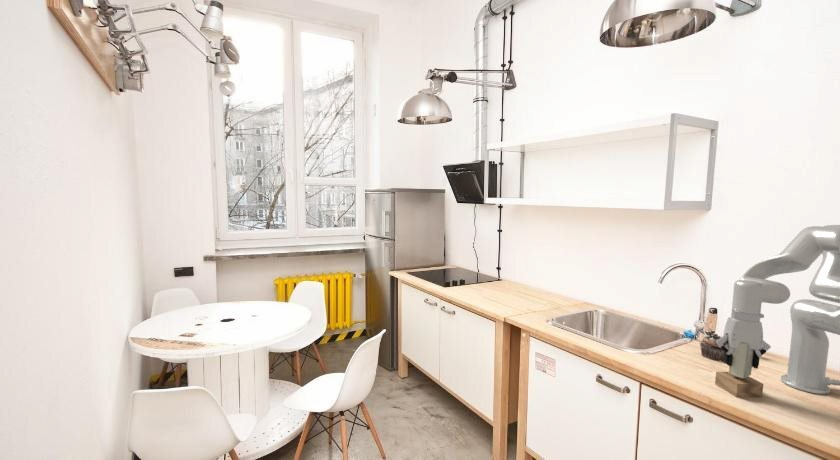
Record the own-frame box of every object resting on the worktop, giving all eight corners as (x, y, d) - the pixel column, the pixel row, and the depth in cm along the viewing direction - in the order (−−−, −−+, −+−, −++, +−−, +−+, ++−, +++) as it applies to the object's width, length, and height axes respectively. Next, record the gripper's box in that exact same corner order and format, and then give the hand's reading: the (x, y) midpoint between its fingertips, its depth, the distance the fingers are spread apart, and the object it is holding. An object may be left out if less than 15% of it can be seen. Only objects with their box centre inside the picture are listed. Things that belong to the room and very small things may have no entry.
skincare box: (736, 370, 136) (739, 337, 135) (751, 375, 132) (755, 341, 131) (727, 373, 133) (731, 340, 132) (743, 379, 129) (746, 344, 128)
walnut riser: (739, 385, 138) (740, 371, 137) (761, 398, 129) (763, 384, 128) (714, 384, 137) (716, 371, 137) (736, 397, 128) (737, 383, 128)
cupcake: (733, 361, 158) (735, 338, 157) (714, 362, 156) (716, 339, 155) (711, 352, 167) (713, 330, 167) (693, 353, 166) (695, 330, 165)
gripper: (766, 314, 133) (761, 363, 134) (711, 311, 136) (706, 358, 138) (782, 321, 125) (777, 373, 127) (723, 317, 129) (718, 367, 130)
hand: (740, 365), depth 132 cm, fingers closed on skincare box, 7 cm apart
